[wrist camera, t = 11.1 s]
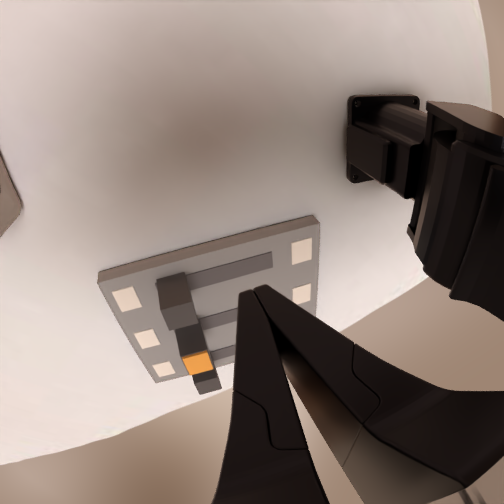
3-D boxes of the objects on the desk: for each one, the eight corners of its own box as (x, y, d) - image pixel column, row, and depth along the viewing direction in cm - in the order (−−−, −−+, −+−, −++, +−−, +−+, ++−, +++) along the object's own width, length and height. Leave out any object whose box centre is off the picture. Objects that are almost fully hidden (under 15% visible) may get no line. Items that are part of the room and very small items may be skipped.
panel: (312, 215, 24) (341, 246, 20) (309, 327, 31) (327, 358, 28) (98, 272, 21) (94, 314, 17) (154, 373, 28) (160, 409, 25)
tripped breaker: (199, 318, 24) (208, 351, 21) (205, 337, 25) (214, 369, 23) (174, 325, 23) (180, 358, 21) (182, 344, 25) (189, 376, 22)
